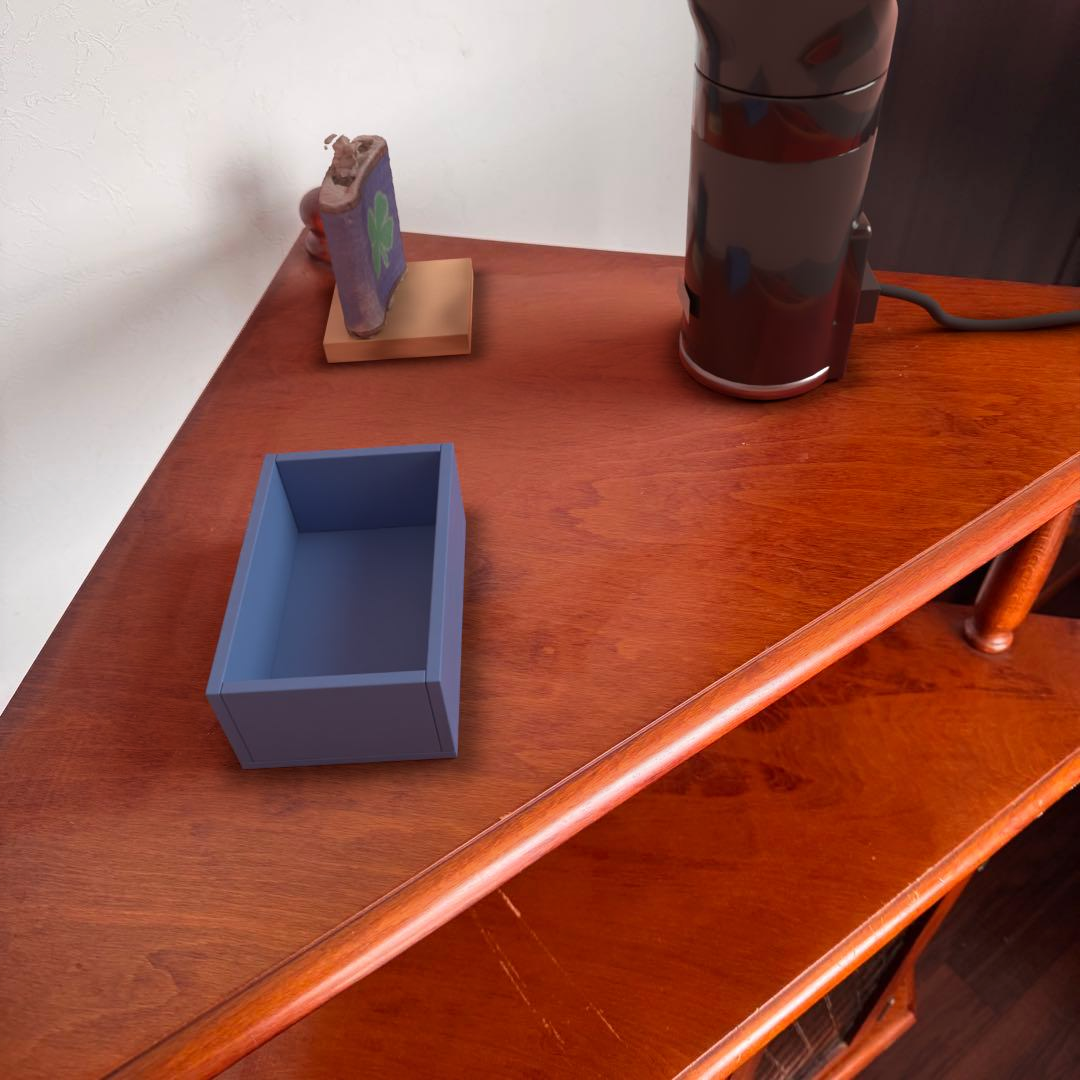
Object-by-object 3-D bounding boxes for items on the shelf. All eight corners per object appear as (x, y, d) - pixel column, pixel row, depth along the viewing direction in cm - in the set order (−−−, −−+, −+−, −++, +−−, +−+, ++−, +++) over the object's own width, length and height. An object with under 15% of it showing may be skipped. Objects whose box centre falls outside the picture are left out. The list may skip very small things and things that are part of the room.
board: (473, 276, 69) (471, 257, 68) (470, 354, 63) (467, 334, 62) (343, 285, 70) (339, 266, 68) (327, 363, 63) (322, 343, 62)
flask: (380, 341, 62) (344, 174, 54) (334, 340, 62) (292, 174, 55) (413, 262, 68) (386, 102, 61) (371, 261, 69) (339, 103, 61)
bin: (466, 522, 53) (453, 441, 49) (457, 757, 43) (440, 680, 39) (291, 532, 53) (264, 453, 49) (242, 769, 43) (204, 694, 39)
